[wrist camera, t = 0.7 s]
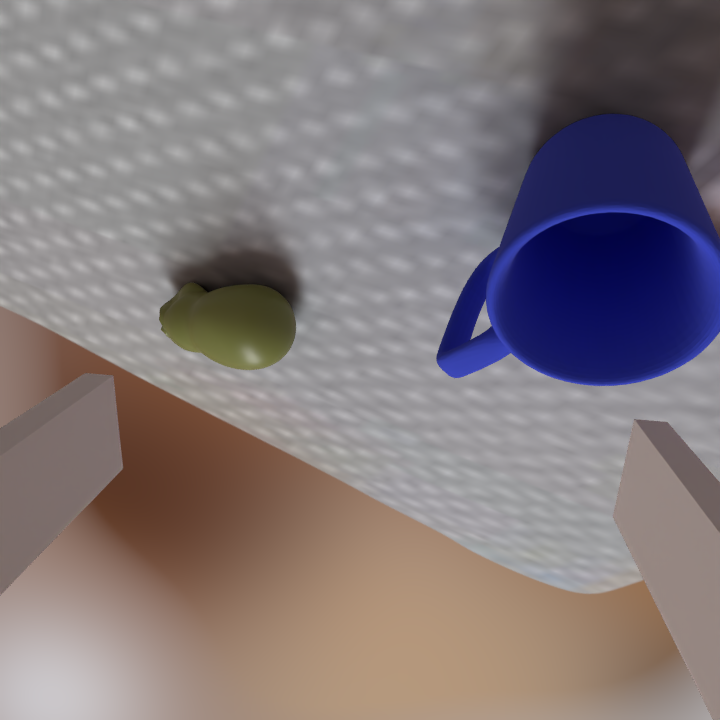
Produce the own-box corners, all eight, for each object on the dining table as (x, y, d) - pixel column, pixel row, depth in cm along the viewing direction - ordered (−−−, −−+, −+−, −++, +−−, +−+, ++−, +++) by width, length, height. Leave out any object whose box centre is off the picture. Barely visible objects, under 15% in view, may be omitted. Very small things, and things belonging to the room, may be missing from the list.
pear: (280, 391, 37) (166, 371, 42) (319, 336, 40) (209, 324, 45) (247, 322, 34) (126, 309, 38) (293, 268, 37) (176, 262, 42)
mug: (421, 210, 32) (373, 329, 25) (634, 44, 24) (648, 151, 17) (516, 309, 35) (496, 441, 28) (735, 189, 27) (782, 331, 20)
